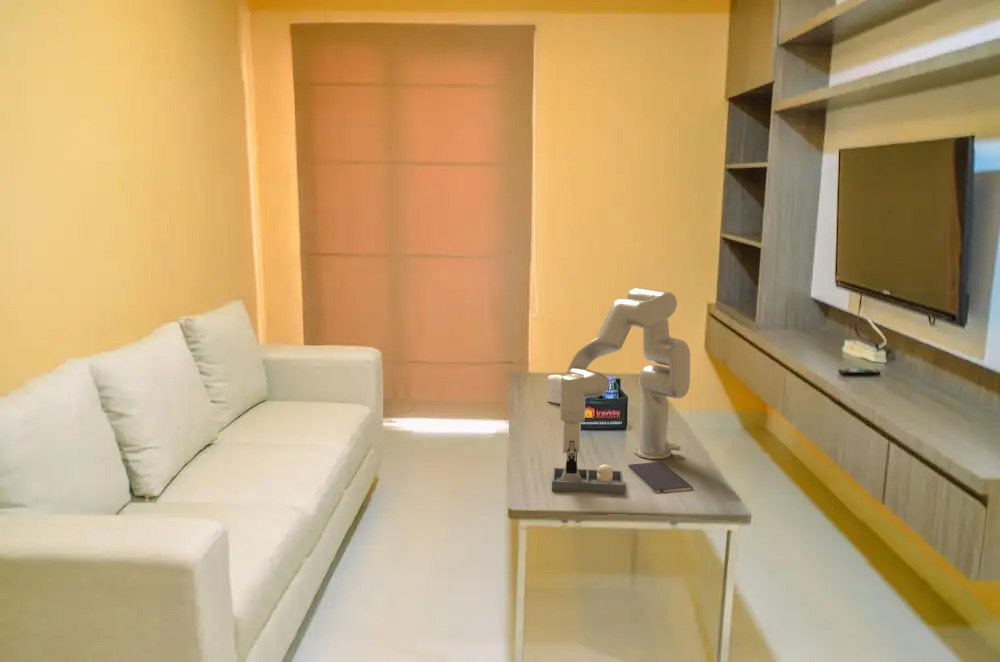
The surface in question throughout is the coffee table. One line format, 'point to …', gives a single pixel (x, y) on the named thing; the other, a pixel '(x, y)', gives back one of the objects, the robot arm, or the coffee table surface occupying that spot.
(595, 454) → the coffee table surface
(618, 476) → the tray
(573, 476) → the flask
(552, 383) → the photo printer
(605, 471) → the cream egg
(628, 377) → the coffee table surface
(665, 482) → the notebook
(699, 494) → the coffee table surface
